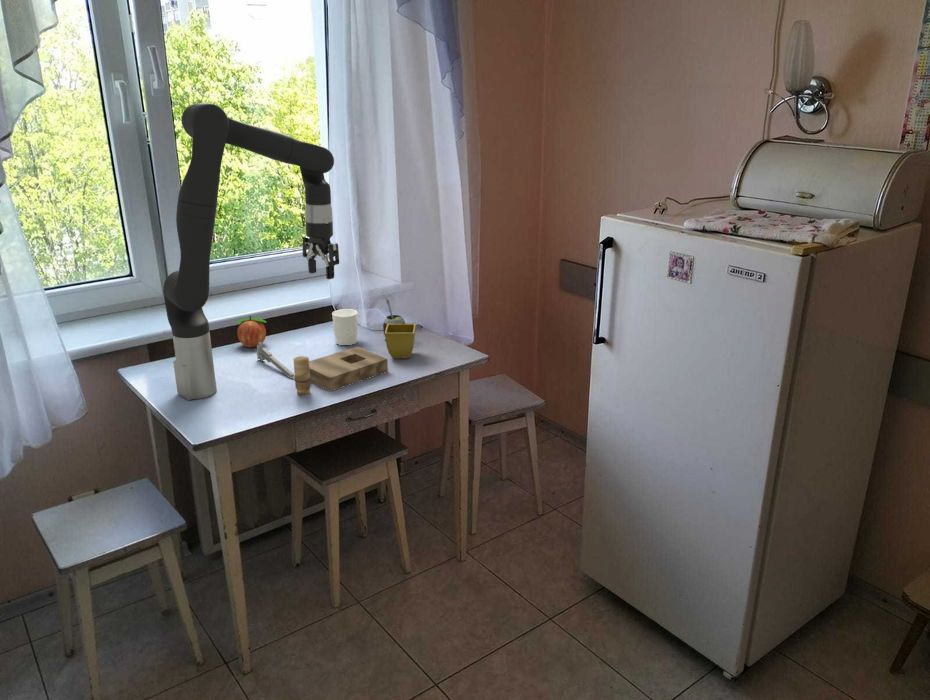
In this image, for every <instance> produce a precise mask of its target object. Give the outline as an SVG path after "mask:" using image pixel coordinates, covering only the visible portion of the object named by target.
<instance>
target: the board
mask: <svg viewBox="0 0 930 700" xmlns="http://www.w3.org/2000/svg"><path fill="white" fill-rule="evenodd" d="M388 362H389V361H388V358H386V357H384V356H381V355H379V354H377V353H374V352H372V351H369V350H367V349H364V348H362V347H361V346H360V347H359V346H355V347H351V348H349V349H348V348H347V349H346V350H342V351H339V352H336V353H335V352H334V353H332V354H329V355H325V356H322V357H318V358H315V359H313V360H309V368H310V382H311V383H313V382H314V383H313V384H315V383H316V384H315V385H317V384H318V385H317V386H319V385H320V386H319V387H321V386H322V387H321V388H323V387H324V388H323V389H325V388H326V389H325V390H327V389H328V390H327V391H329V392H333V391H335V390H334V389H336V390H338V388H339V389H341V387H342V388H344V387H343V386H345V387H347V385H348V386H350V385H349V384H351V385H353V384H352V383H354V384H356V383H355V382H357V383H359V382H358V381H360V382H361V380H363V381H366V380H368V379H370V378H369V377H371V378H373V377H372V376H374V377H376V376H375V375H377V376H380V375H382V374H381V373H383V374H385V373H384V372H386V373H388V371H389V368H388V367H389V365H388ZM379 374H380V375H379ZM367 378H368V379H367ZM332 390H333V391H332Z"/></svg>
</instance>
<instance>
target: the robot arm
mask: <svg viewBox="0 0 930 700" xmlns="http://www.w3.org/2000/svg"><path fill="white" fill-rule="evenodd" d="M181 125H182V128H183V130H184V131H185V133H186V134H187V135H188V136H189V137H191V138H192V146H191V148H192V149H191V157H190V162H189V164H188V165H189V166H188V169H187V171H186V173H185V175H184V178H183V180H182V183H181V186H180V188H179V191H178V197H177V206H176V214H175V215H176V217H175V222H176V229H177V230H176V232H177V238H178V242H179V248H180V261H179V267H178V268H179V269H178V270H175V271H172V272H171V273H169V274H168V276H167V277H166V278H165V280H164V283H163V287H162V288H163V290H162V291H163V293H162V294H163V300H164V305H165V306H164V307H165V310H166V311H165V312H166V317H167V322H168V323H169V326H170V328H171V335H172V340H173V341H172V342H173V349H174V355H175V356H174V357H175V360H173V362H172V363H173V369H174V371H173V372H174V376H175V384H176V392H177V395H179V396H180V397H182V398H183V399H185V400H187V401H190V400H199V399H204V398H209V397H211V396H213V395H214V394H215V393H216V392H217V380H216V374H215V373H216V372H215V365H214V356H213V348H212V342H211V341H212V340H211V333H210V324H209V320H208V318H207V317H206V315H205V313H204V310H203V307H204V306H205V305H206V303H207V301H208V299H209V296H210V265H211V263H210V262H211V254H212V253H211V252H212V244H213V237H214V229H215V223H216V217H217V209H218V208H217V207H218V197H219V196H218V195H219V187H220V177H221V167H222V162H223V157H224V152H225V148H226V144H227V145H230V146H233V147H236V148H237V147H238V148H241V149H243V150H246V151H249V152H251V153H254V154H257V155H259V156H262V157H265V158H269V159H271V160H274V161H277V162H280V163H283V164H288V165H293V166H297V167H299V170H300V175H301V178H302V181H303V182H302V183H303V185H304V186H303V187H304V200H305V206H304V207H305V208H304V209H305V210H304V216H305V217H304V218H305V222H304V223H305V236H303V237H301V238H302V242H301V243H302V257H303V258H306V261H307V266H308V267H307V268H308V273H309V274H316V273H317V260H316V259H317V256H319V257H320V258H321V260H322V261H324V263H325V275H326V277H325V278H326V279H327V280H333V279H334V278H335V266H337V265H340V253H339V252H340V251H339V244H338V243H336V242H334V243H332V241H331V238H332V237H333V235H334V226H333V225H334V222H333V221H334V220H333V208H332V191H331V186H330V184H329V183H328V181H326V179H325V175H324V174H326V173H328V172H330V171H331V170H332V169H333V168H334V166H335V157H334V156H333V154H332V152H331V151H330V150H329V149H328V148H326V147H324V146H321V145H317V144H313V143H310V142H306V141H302V140H299V139H298V138H295V137H292V136H290V135H287V134H284V133H281V132H278V131H276V130H275V131H274V130H271V129H268V128H263V127H261V126H260V127H259V126H255V125H251V124H249V123H246V122H245V123H244V122H242V121H238V120H236V119H233V118H230V117H228V115H227V113H226V111H225V110H224V109H223V108H222V107H220V106H219V105H217V104H214V103H209V102H207V103H206V102H196V103H192V104H190V105H188V106H187V107H186V108H185V109H184V110H183V112H182V114H181ZM307 250H308V251H307Z"/></svg>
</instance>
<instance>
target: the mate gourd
mask: <svg viewBox="0 0 930 700" xmlns="http://www.w3.org/2000/svg"><path fill="white" fill-rule="evenodd" d="M381 295H382V296H383V298H385V301H386V304H387V307H388V310H389V311H388V312H389V315H387V316H386V317H384V320H383V324H382V328H383V329H382V330H383V335H384V336H385V330H386V327H387V324H406V322H405V319H404V317H403V316H402V315H400V314H399V315H398V314H393V312H392V309H391V305H390V304H391V303H390V300H389V298H388V297H387V296H386V295H385V293H384V292H381ZM384 341H385V342H386V338H385V339H384Z"/></svg>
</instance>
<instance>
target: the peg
mask: <svg viewBox="0 0 930 700" xmlns="http://www.w3.org/2000/svg"><path fill="white" fill-rule="evenodd" d="M309 361H310V359H309V357H308V356H303V355H302V356H295V357H294V358H293V370H294V371H293V374H294V376H295V379H294V382H295V383H294V384H295V385H294V386H295V388H296V394H298V395H297V396H299V395H300V397H305V395H307V396H309V395H310V394H311V388H312V387H311V386H312V385H311V384H312V382H311V381H310V368H309ZM308 394H309V395H308Z"/></svg>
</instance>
